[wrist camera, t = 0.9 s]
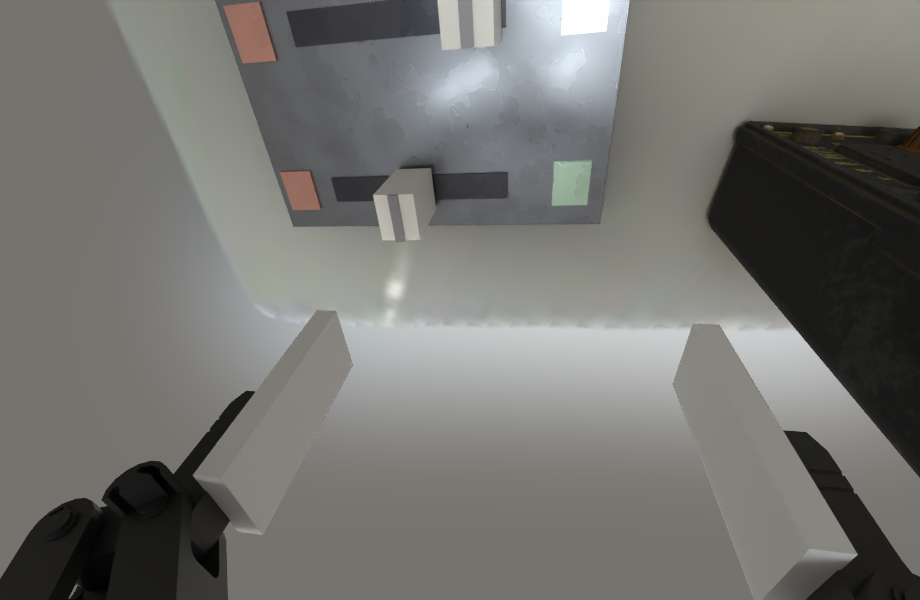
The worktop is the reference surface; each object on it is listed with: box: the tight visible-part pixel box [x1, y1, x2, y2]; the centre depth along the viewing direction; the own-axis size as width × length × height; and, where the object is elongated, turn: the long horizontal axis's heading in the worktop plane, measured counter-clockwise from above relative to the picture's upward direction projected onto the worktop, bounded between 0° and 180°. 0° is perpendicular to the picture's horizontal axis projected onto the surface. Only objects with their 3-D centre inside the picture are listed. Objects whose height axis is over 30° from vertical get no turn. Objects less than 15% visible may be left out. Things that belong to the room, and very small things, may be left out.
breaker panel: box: [215, 0, 630, 227], centre depth 26 cm, size 16×24×2 cm, turn 94°
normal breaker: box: [437, 0, 502, 50], centre depth 20 cm, size 3×2×5 cm
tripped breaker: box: [373, 168, 436, 242], centre depth 26 cm, size 3×2×5 cm
